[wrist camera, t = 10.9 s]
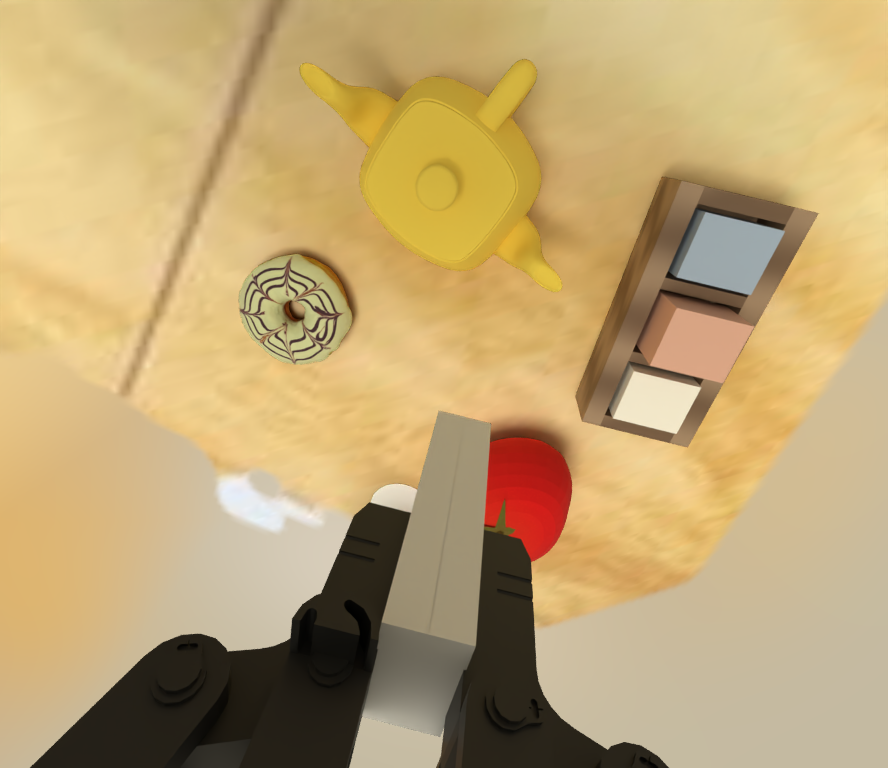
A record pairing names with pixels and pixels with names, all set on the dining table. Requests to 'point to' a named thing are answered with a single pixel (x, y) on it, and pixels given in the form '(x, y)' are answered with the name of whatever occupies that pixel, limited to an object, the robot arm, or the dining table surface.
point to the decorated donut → (271, 316)
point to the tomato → (527, 493)
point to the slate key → (724, 251)
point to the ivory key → (653, 397)
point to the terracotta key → (693, 336)
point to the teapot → (448, 168)
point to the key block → (652, 275)
